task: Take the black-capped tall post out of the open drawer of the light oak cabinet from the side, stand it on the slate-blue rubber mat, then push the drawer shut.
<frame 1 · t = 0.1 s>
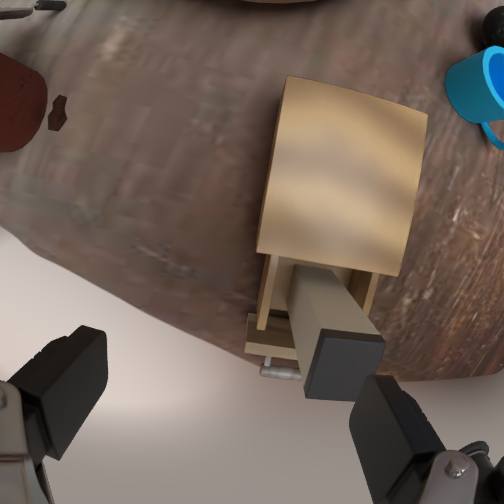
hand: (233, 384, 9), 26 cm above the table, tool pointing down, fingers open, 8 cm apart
mug: (474, 107, 30), on the table
drawer: (310, 303, 31), point 4 cm above the table, slide at 8.5 cm, touching black-capped tall post
decorative stone: (494, 50, 28), on the table
potted plant: (29, 91, 31), on the table
cabinet: (327, 177, 33), on the table
black-capped tall post: (309, 287, 34), point 2 cm above the table, touching drawer
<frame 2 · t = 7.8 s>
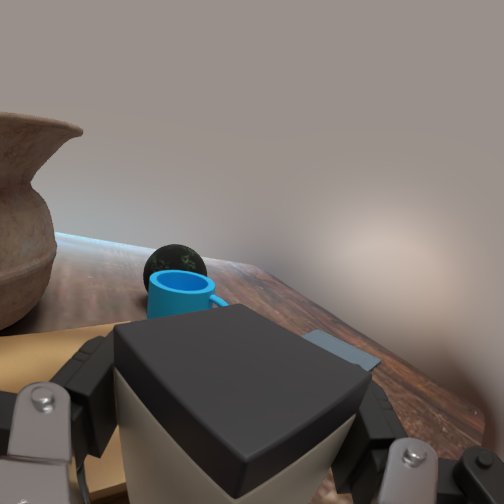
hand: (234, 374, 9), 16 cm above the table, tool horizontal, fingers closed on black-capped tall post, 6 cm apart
mug: (189, 344, 40), on the table
mat: (331, 355, 43), on the table
decorative stone: (171, 307, 51), on the table
cabinet: (103, 468, 18), on the table
when the fingers open (14 cm above the table, at t = 19.4 s): black-capped tall post stays where it is, resting on mat.
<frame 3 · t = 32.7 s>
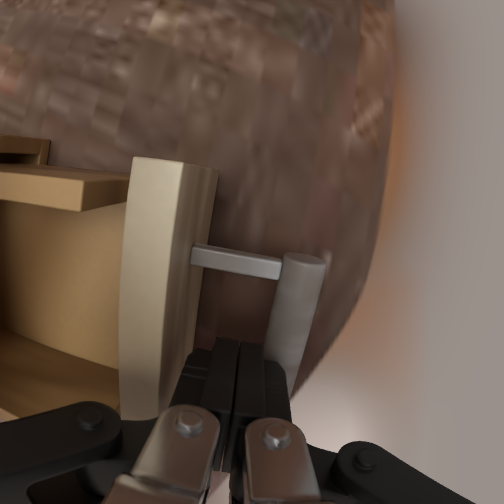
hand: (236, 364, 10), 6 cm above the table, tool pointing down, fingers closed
drawer: (71, 303, 11), point 4 cm above the table, slide at 8.2 cm, touching gripper
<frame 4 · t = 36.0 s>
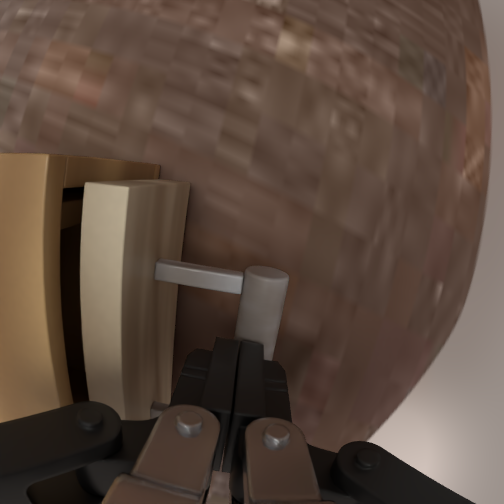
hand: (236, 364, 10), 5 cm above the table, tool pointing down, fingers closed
drawer: (51, 315, 11), point 4 cm above the table, slide at 0.5 cm
cabinet: (33, 269, 15), on the table
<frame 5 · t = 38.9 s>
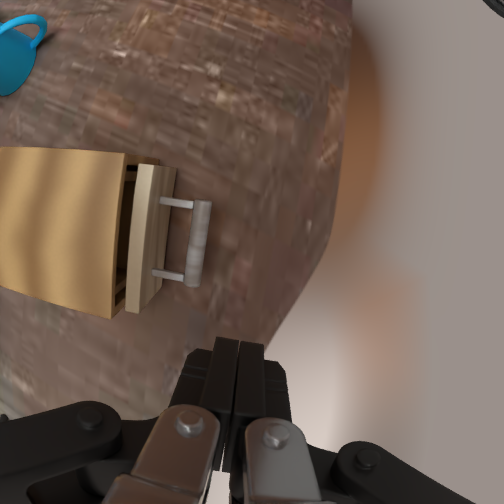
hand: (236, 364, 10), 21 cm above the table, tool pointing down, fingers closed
mug: (24, 57, 26), on the table
drawer: (107, 226, 26), point 4 cm above the table, slide at 0.8 cm
cabinet: (86, 213, 30), on the table
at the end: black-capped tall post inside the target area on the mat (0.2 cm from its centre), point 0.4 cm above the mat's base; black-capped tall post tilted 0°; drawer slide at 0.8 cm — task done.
